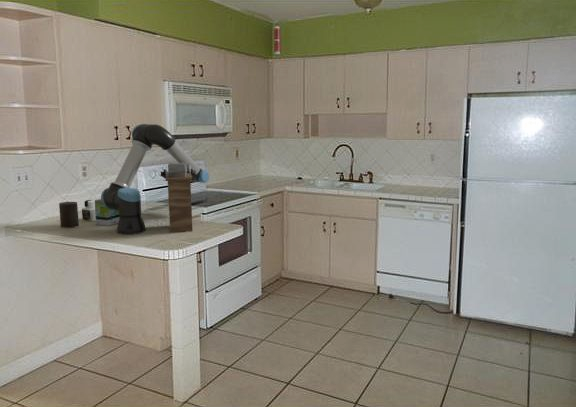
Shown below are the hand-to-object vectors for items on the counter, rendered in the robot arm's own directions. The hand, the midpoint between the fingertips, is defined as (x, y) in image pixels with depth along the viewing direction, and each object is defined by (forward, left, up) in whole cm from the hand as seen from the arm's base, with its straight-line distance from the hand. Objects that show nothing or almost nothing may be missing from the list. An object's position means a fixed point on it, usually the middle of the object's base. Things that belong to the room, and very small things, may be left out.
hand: (178, 167), depth 285 cm
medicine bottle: (-23, +54, -33) cm, 68 cm away
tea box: (-21, +36, -33) cm, 54 cm away
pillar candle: (-40, +49, -33) cm, 72 cm away
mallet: (-3, -5, -3) cm, 6 cm away
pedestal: (-8, -9, -33) cm, 35 cm away
